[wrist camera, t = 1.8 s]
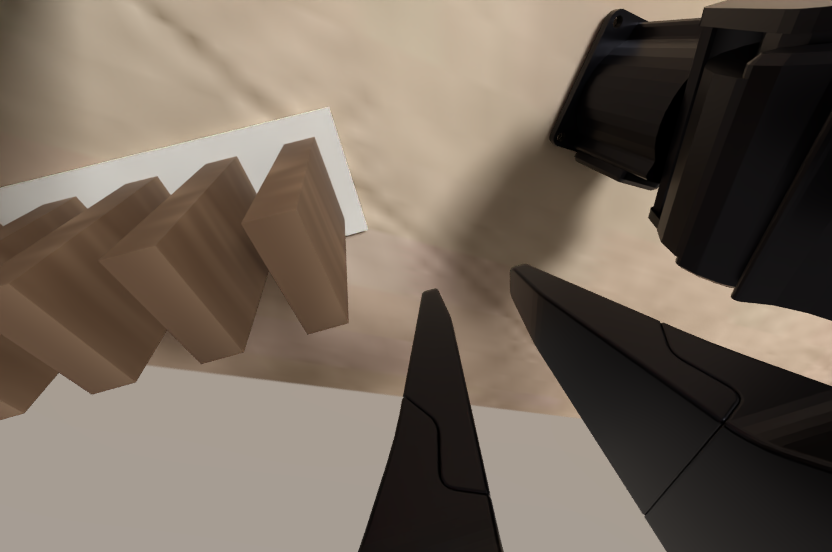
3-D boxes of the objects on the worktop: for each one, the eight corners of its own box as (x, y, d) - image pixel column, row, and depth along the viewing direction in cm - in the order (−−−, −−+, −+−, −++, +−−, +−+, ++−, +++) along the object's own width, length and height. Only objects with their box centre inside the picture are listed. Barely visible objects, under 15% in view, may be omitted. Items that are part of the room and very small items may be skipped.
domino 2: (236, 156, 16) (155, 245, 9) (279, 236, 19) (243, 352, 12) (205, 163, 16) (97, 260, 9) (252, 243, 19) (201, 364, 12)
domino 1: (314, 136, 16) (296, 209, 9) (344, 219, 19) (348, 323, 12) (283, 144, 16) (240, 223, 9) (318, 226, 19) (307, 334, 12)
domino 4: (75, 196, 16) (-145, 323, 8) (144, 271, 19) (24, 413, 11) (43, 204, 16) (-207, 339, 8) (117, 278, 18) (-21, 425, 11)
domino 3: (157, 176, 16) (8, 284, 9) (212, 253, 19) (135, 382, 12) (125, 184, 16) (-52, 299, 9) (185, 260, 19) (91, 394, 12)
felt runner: (329, 106, 16) (328, 107, 16) (367, 226, 20) (368, 230, 20) (-83, 207, 15) (-92, 211, 15) (49, 311, 19) (44, 315, 19)
